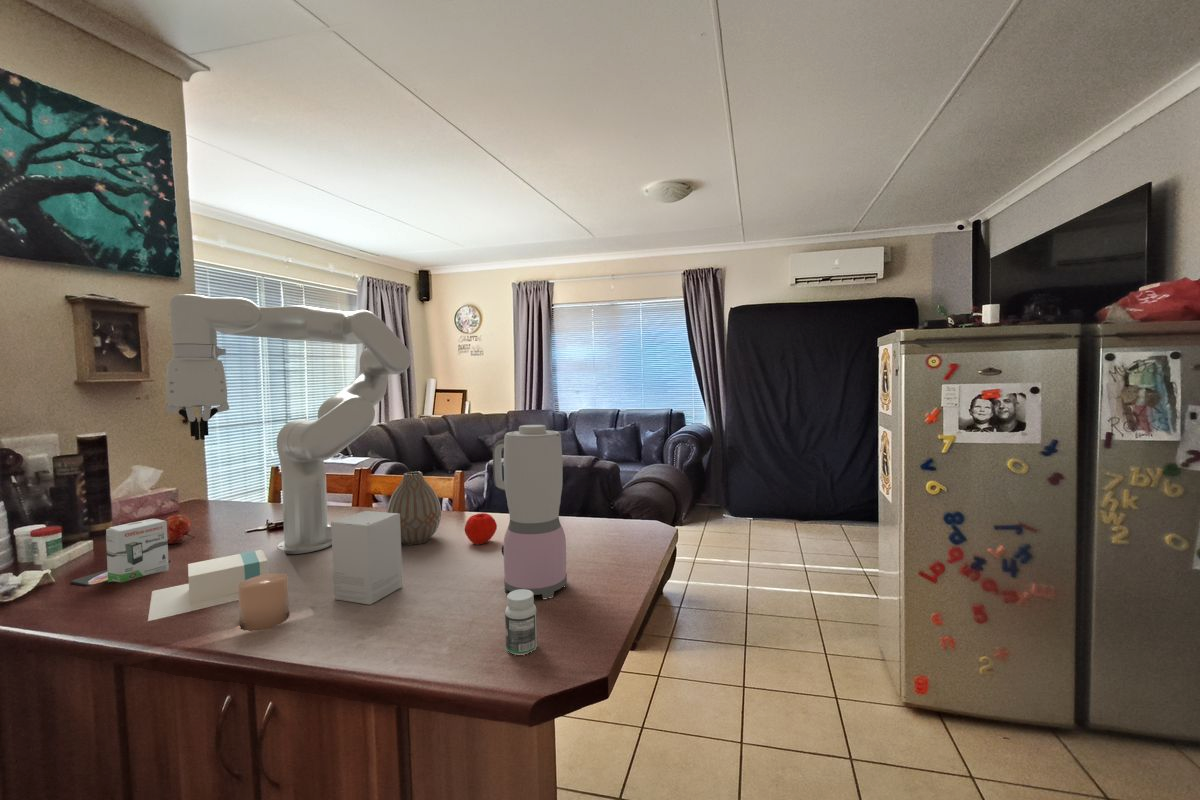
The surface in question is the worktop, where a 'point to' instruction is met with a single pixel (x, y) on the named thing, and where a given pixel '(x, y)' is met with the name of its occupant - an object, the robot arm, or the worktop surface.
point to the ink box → (136, 549)
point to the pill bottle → (521, 622)
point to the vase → (415, 508)
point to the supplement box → (366, 556)
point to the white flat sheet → (180, 602)
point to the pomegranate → (177, 528)
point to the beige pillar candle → (263, 601)
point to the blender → (532, 509)
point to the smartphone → (93, 579)
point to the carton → (224, 574)
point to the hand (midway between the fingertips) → (199, 439)
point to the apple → (480, 528)
